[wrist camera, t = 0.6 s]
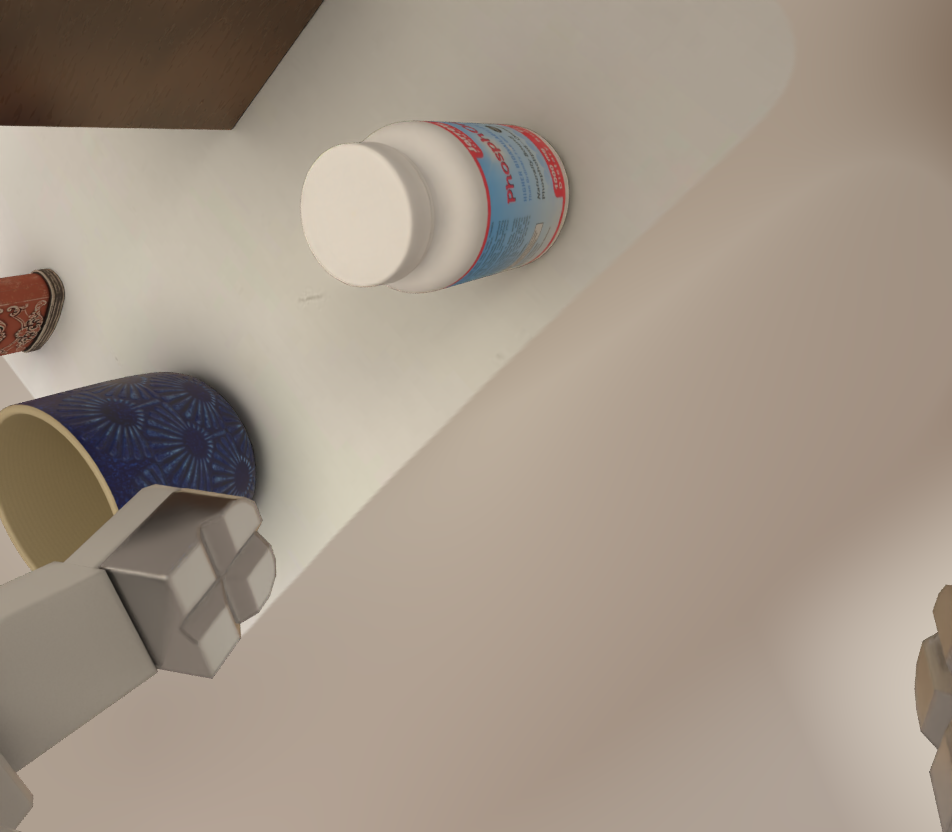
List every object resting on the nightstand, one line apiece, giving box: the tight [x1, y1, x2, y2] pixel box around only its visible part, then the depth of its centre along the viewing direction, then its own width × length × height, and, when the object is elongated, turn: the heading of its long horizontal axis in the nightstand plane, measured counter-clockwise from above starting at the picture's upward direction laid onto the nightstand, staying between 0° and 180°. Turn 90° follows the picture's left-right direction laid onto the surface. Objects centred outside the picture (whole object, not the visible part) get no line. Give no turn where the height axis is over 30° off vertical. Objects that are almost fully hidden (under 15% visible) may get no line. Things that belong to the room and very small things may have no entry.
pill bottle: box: [301, 121, 569, 293], centre depth 28 cm, size 6×6×11 cm
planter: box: [0, 372, 256, 571], centre depth 45 cm, size 12×12×11 cm
